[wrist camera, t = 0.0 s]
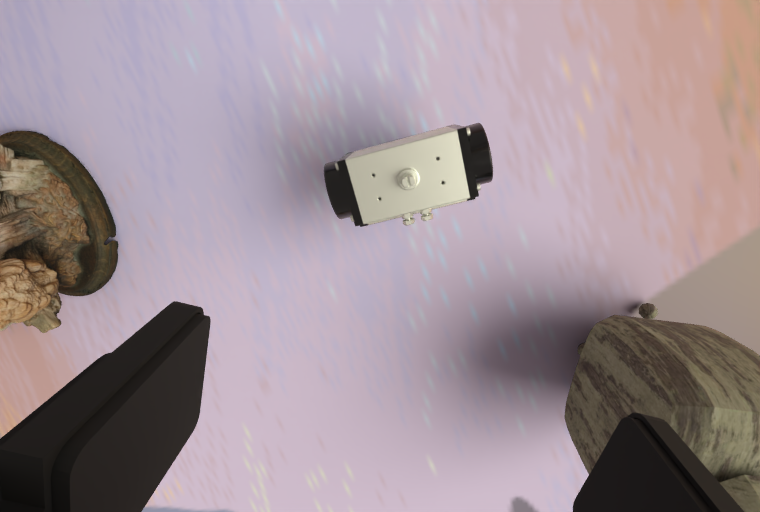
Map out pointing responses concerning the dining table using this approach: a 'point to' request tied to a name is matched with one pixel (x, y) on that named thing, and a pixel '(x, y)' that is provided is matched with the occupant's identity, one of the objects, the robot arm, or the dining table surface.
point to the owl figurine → (49, 230)
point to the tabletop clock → (672, 394)
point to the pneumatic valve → (410, 175)
